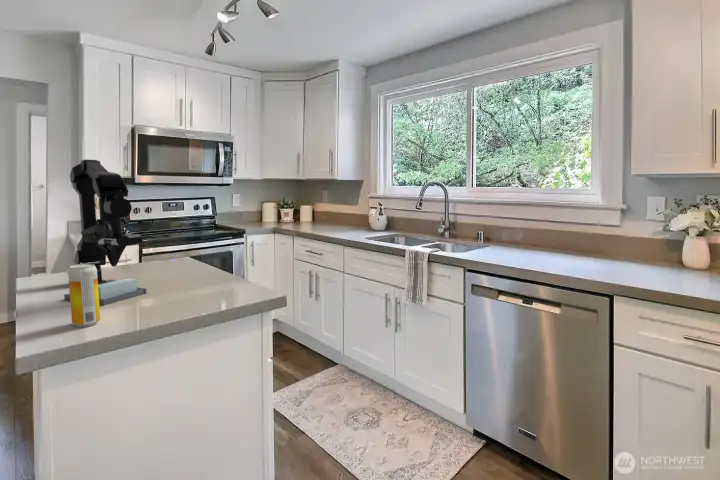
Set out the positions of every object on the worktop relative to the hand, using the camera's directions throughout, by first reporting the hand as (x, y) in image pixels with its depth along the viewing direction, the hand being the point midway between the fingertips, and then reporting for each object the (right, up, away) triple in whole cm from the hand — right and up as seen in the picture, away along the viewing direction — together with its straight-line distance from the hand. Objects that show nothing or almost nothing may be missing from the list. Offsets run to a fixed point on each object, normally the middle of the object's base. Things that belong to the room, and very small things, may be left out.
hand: (113, 266), depth 133 cm
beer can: (+6, -13, -23) cm, 28 cm away
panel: (0, -10, +1) cm, 10 cm away
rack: (-4, -10, +2) cm, 11 cm away
